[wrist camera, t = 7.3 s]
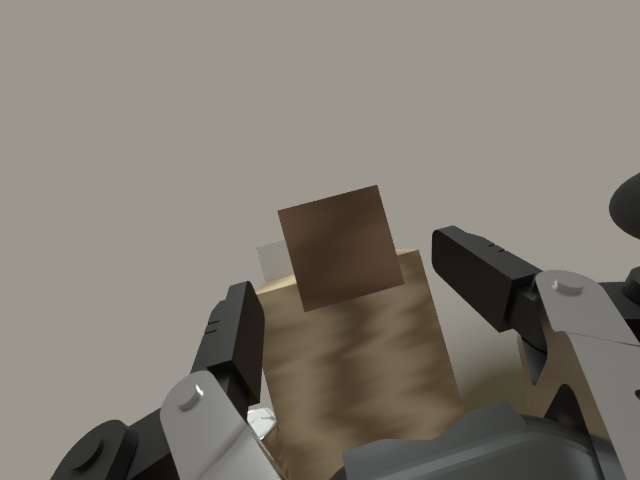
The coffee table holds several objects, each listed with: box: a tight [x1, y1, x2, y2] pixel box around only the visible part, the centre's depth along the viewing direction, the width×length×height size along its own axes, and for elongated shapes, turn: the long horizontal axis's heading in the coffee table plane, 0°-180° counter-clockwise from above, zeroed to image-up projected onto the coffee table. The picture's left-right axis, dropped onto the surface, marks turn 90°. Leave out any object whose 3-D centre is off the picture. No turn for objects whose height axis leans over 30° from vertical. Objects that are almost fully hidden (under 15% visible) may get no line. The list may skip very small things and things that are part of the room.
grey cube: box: [257, 240, 294, 282], centre depth 28 cm, size 4×4×4 cm
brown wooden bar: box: [278, 185, 405, 312], centre depth 20 cm, size 4×23×4 cm, turn 3°
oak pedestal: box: [255, 249, 465, 480], centre depth 24 cm, size 14×14×32 cm
